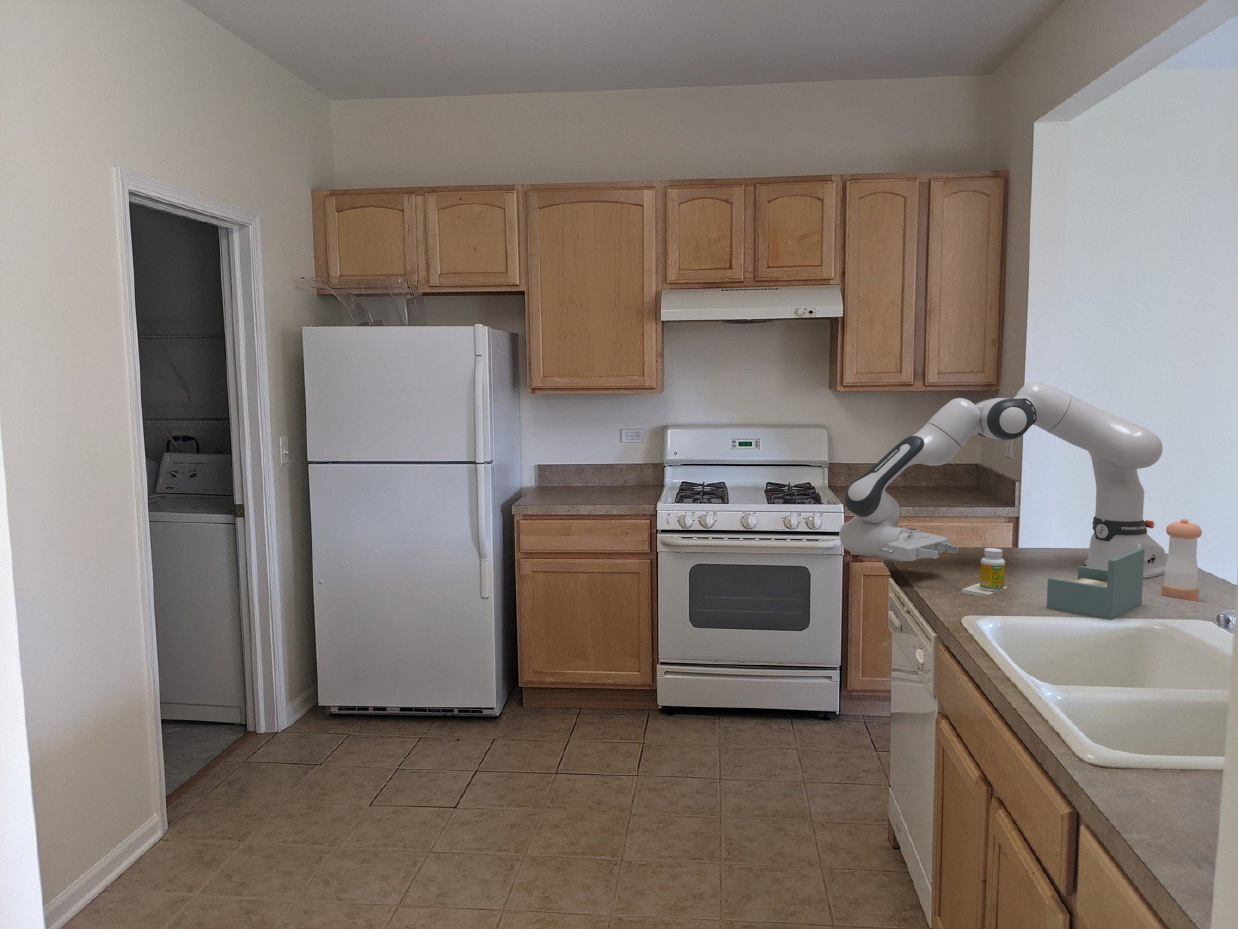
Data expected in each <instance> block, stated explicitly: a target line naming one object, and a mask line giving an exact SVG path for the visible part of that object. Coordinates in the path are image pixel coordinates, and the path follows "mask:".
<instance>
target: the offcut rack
mask: <svg viewBox="0 0 1238 929" xmlns="http://www.w3.org/2000/svg"><path fill="white" fill-rule="evenodd" d="M1144 553H1145V549H1142V548H1138V549H1135V550H1133V551H1130V552H1128V553H1125V554H1123V555H1120V556H1118V557H1115V558H1113V559H1110V560H1108V570H1104V569H1097V568H1091V567H1086V566H1082V565H1080V566H1079V565H1078V570H1077V580H1078V579H1081V578H1085V579H1091V580H1097V581H1103V582H1107V587H1104V586H1098V585H1092V584H1085V583H1079V582H1073V581H1074V580H1073V581H1071V580H1066V579H1059V578H1053V577H1049V578H1047V591H1046V592H1047V593H1046V608H1047V609H1051V610H1057V611H1060V612H1066V613H1073V614H1077V615H1082V616H1089V617H1093V618H1098V619H1104V620H1110V621H1112V620H1114V619H1116V618H1119V617H1120V616H1122V615H1123V614H1126V613H1128V612H1129V611H1131V610H1133V609H1135V608H1137V607H1139V606H1141V605H1142V602H1143V601H1142V599H1143V584H1144V582H1143V581H1144V578H1143V570H1144Z"/></svg>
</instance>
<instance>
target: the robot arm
mask: <svg viewBox="0 0 1238 929" xmlns="http://www.w3.org/2000/svg"><path fill="white" fill-rule="evenodd" d="M1031 426H1035V427H1038V428H1040V429H1041V430H1043V431H1045V432H1047V433H1049V434H1051V435H1053V436H1054V437H1057V438H1059V439H1060V440H1063V441H1065V442H1067V443H1068V444H1071V445H1073V446H1075V447H1078V448H1080V449H1082V450H1085V451H1087V452H1088V453H1089V454H1088V455H1090V458H1091V459H1090V460H1091V463H1092V468H1093V474H1094V479H1095V480H1094V481H1095V491H1096V492H1095V513H1094V514H1095V515H1094V517H1093V519H1092V530H1093V534H1092V535H1091V538H1090V540H1089V541H1090V542H1089V548H1088V553H1087V559H1085V560H1084V564H1085V567H1091V568H1097V569H1104V570H1108V560H1110V559H1113V558H1115V557H1118V556H1120V555H1123V554H1125V553H1128V552H1130V551H1133V550H1135V549H1138V548H1142V549H1145V553H1144V570H1143V579H1145V578H1146V579H1149V578H1153V577H1157V576H1163V575H1164V573H1165V566H1166V551H1165V548H1164V547H1163V546H1162V545H1161V544H1160V543H1158V542H1157V541H1156V540H1154V539H1153V538H1152V537H1151V536H1150V535H1149V534H1148V529H1147V528H1149V529H1154V527H1155V525H1156V524H1155V521H1154V520H1148V519H1145V520H1144V505H1145V490H1144V487H1143V485H1142V484H1141V481H1140V478H1139V473H1138V470H1139V469H1141V470H1142V469H1145V468H1148V467H1152V466H1154V465H1155V464H1156V463H1158V461H1159V460H1160V459H1161V456H1162V454H1163V448H1164V447H1163V443H1162V440H1161V439H1160V437H1159V436H1158V435H1157V434H1155V432H1153V431H1150V430H1148V429H1147V428H1144V427H1142V426H1140V425H1138V424H1136V423H1133V422H1131V421H1129V420H1126V419H1124V418H1122V417H1121V416H1117V415H1115V414H1112V413H1110V412H1107V411H1105V410H1102V409H1100V408H1098V407H1095V406H1093V405H1091V404H1089V403H1087V402H1085V401H1083V400H1082V399H1079V398H1077V397H1076V396H1074V395H1071V394H1070V393H1067V392H1066V391H1063V390H1061V389H1058V388H1057V387H1053V386H1050V385H1048V384H1046V383H1045V384H1044V383H1041V382H1039V381H1038V382H1036V381H1032V382H1028V383H1026V384H1025V385H1023V386H1022V387H1021V388H1020V389H1019V390H1018V391H1017V393H1016V395H1014V397H1013V398H1007V397H996V398H986V399H983V400H980V401H977V402H972V401H971V400H969V399H967V398H962V397H957V398H953V399H951V400H949V401H948V402H947V403H946V404H945V405H943V406H942V407H941V408H940V409H939V410H938V411H937V412H936V413H934V414H933V415H932V416H931V418H930V419H929V420H928V421H927V422H926V423H925V425H924V426H922V428H920V429H919V430H918V431H916V433H915V434H913V435H910V436H907V437H905V438H904V439H902V440H901V441H899V443H897V444H896V445H895V446H894V447H892V449H891V450H889V451H888V452H887V453H886V454H885V455H883V457H882V458H881V459H879V461H878V462H877V463H875V464H874V465H873V466H872V467H871V468H870V469H869V470H867V472H865V473H863V474H862V475H860V476H859V477H857V478H855V479H854V480H853V481H852V482H850V484H848V486H847V487H846V490H845V492H844V496H843V497H844V498H843V499H844V501H843V502H844V505H845V507H846V509H847V510H848V511H849V512H850V513H852V514H854V516H853V517H852V518H851V519H850V520H848V521H846V522H844V523H842V525H841V527H840V531H839V539H840V542H841V545H842V546H843V547H844V549H845V550H847V551H848V552H850V553H853V554H856V555H859V556H863V557H870V558H871V557H877V558H880V559H882V560H887V561H892V562H898V563H903V562H913V561H917V560H919V559H935V560H936V559H939V558H940V556H941V555H940V554H942V553H946V552H947V553H949V554H957V553H959V546H958V545H953V544H950V543H949V539H948V538H947V537H945V536H943V535H938V534H933V533H930V532H923V531H920V529H917V528H904V527H898V523H899V521H900V518H901V514H902V507H901V505H900V503H899V502H898V501H897V500H896V499H895V498H894V497H893V496H892V495H890V493H888V492H887V491H886V488H887V487H888V486H889V485H890V484H891V483H892V482H893V481H894V480H895V479H896V478H897V477H899V475H900V474H902V472H904V470H906V469H907V468H909V467H910V466H912V465H919V464H920V465H925V466H930V467H931V466H932V467H934V466H935V467H937V466H942V465H945V464H947V463H948V462H949V461H951V460H952V459H953V458H954V457H955V456H956V455H957V454H958V453H959V452H960V451H961V450H962V448H963V447H964V446H965V445H966V444H967V443H968V441H969V440H970V439H971V438H973V437H974V436H975V435H979V436H980V437H985V438H988V439H992V440H997V441H998V440H1001V441H1002V440H1003V441H1012V440H1015V439H1018V438H1020V437H1022V436H1023V435H1024V434H1025V433H1026V432H1028V430H1029V429H1030V428H1031Z"/></svg>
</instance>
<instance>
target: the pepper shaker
mask: <svg viewBox="0 0 1238 929" xmlns="http://www.w3.org/2000/svg"><path fill="white" fill-rule="evenodd" d="M1165 531H1166V534H1167V535H1168V536H1169V539H1168V540H1169V541H1168V552H1167V554H1168V555H1167V559H1166V561H1165V564H1166V566H1165V573H1164V574H1163V575H1164V578H1163V583H1162V584H1161V597H1166V598H1172V599H1178V600H1184V601H1191V602H1195V603H1196V602H1197V603H1198V602H1199V594H1200V592H1199V591H1200V589H1199V587H1198V581H1199V580H1198V579H1199V568H1198V560H1197V554H1198V552H1197V549H1198V539H1199V538H1200V537H1202V534H1203V530H1202V528H1201V527H1200V525H1198V524H1195V523H1193V522H1189V520H1188V519H1185V518H1182V519H1180V520H1179V521H1175V522H1171V523H1169V524H1168V525H1167V526H1166V528H1165Z"/></svg>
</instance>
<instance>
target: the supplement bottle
mask: <svg viewBox="0 0 1238 929" xmlns="http://www.w3.org/2000/svg"><path fill="white" fill-rule="evenodd" d="M983 554H984V557H982V558H981V559H980V575H979V583H980V588H981V589H982V590H986V591H992V592H994V593H996V592H998V591H1002V590H1005V589H1004V587H1005V572H1006V561H1005V559H1003V549H1001V548H994V547H987V548H984V551H983Z"/></svg>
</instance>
